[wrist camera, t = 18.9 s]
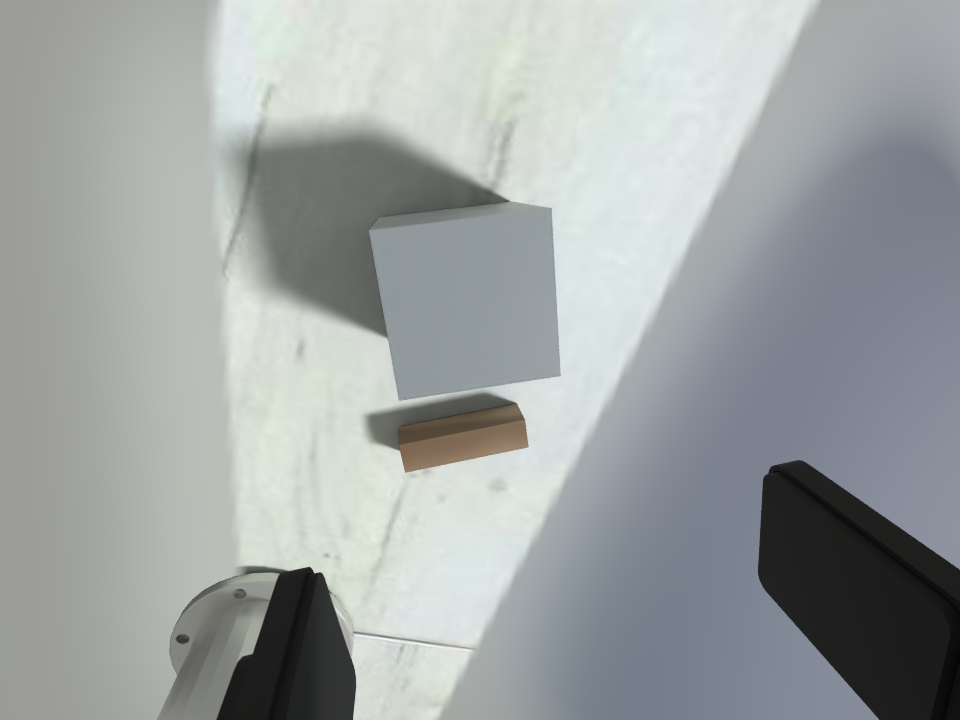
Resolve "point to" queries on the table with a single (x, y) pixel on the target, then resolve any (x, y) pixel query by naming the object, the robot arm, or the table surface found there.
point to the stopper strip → (462, 437)
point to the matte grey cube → (468, 297)
